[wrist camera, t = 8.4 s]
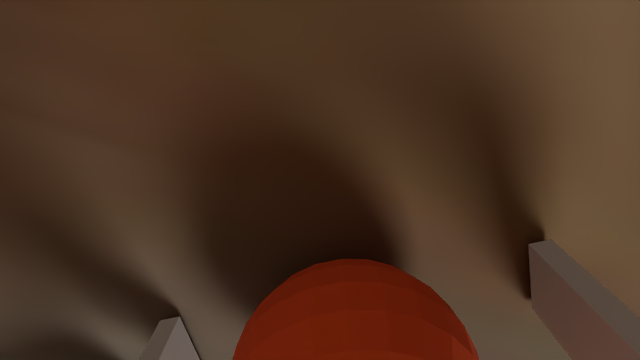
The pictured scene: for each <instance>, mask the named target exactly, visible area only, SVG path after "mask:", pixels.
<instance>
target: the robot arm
mask: <svg viewBox="0 0 640 360" xmlns="http://www.w3.org/2000/svg"><path fill="white" fill-rule="evenodd" d="M528 248H529V266H530V284H531V301H532V308H533V310H534V311H535V312H536V314H537V315H538V316H539V317H540V319H541V320H542V321H543V323H544V324H545V325H546V326H547V328H548V329H549V330H550V332H551V333H552V334H553V335H554V337H555V338H556V339H557V341H558V342H559V343H560V344H561V346H562V347H563V348H564V350H565V351H566V352H567V353H568V355H569V356H570V357H571V359H572V360H640V317H638V316H637V315H636V314H635V313H634V312H633V311H632V310H631V309H629V308H628V307H627V306H626V305H625V304H624V303H623V302H622V301H620V300H619V299H618V298H617V297H616V296H615V295H614V294H612V293H611V292H610V291H609V290H608V289H607V288H606V287H605V286H603V285H602V284H601V283H600V282H599V281H598V280H597V279H595V278H594V277H593V276H592V275H591V274H590V273H589V272H588V271H586V270H585V269H584V268H583V267H582V266H581V265H580V264H579V263H577V262H576V261H575V260H574V259H573V258H572V257H571V256H569V255H568V254H567V253H566V252H565V251H564V250H563V249H562V248H560V247H559V246H558V245H557V244H556V243H555V242H554V241H553V240H551V239H550V240H545V241H540V242H535V243H531V244H528ZM139 360H200V359H199V357H198V355H197V353H196V351H195V348H194V346H193V344H192V342H191V340H190V338H189V336H188V333H187V331H186V329H185V327H184V325H183V323H182V321H181V318H180V316H179V317H175V318H170V319H165V320H160V321H159V323H158V325H157V327H156V329H155V331H154V332H153V334H152V336H151V338H150V340H149V342H148V343H147V345H146V347H145V349H144V351H143V353H142V354H141V356H140V358H139Z"/></svg>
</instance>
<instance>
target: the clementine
mask: <svg viewBox="0 0 640 360" xmlns="http://www.w3.org/2000/svg"><path fill="white" fill-rule="evenodd" d="M233 360H479V358H478V354H477V351H476V349H475V347H474V345H473V343H472V341H471V339H470V337H469V335H468V333H467V331H466V329H465V327H464V325H463V324H462V323H461V321H460V320H459V319H458V317H457V316H456V315H455V313H454V312H453V310H452V309H451V308H450V306H449V305H448V304H447V303H446V302H445V301H444V300H443V299H442V298H441V297H440V296H439V295H438V294H437V293H436V292H435V291H434V290H433V289H432V288H431V287H429V286H428V285H426V284H424V283H423V282H421V281H420V280H418V279H416V278H415V277H413V276H411V275H409V274H407V273H406V272H404V271H402V270H400V269H398V268H396V267H395V266H392V265H388V264H385V263H381V262H377V261H373V260H369V259H338V260H333V261H328V262H323V263H318V264H315V265H312V266H310V267H308V268H306V269H304V270H302V271H299V272H297V273H295V274H293V275H292V276H290V277H289V278H288V279H287V280H285V281H284V282H283V283H282V284H281V285H279V286H278V287H277V288H276V289H274V290H273V291H272V292H271V293H270V294H269V295H268V296H267V297H266V298H265V299H264V300H263V301H262V302H261V303H260V304H259V306H258V307H257V309H256V310H255V312H254V313H253V315H252V316H251V317H250V319H249V320H248V322H247V323H246V325H245V328H244V330H243V332H242V335H241V337H240V339H239V341H238V344H237V346H236V350H235V353H234V356H233Z"/></svg>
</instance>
